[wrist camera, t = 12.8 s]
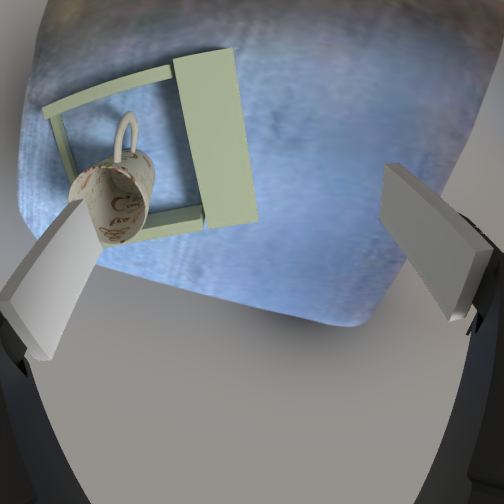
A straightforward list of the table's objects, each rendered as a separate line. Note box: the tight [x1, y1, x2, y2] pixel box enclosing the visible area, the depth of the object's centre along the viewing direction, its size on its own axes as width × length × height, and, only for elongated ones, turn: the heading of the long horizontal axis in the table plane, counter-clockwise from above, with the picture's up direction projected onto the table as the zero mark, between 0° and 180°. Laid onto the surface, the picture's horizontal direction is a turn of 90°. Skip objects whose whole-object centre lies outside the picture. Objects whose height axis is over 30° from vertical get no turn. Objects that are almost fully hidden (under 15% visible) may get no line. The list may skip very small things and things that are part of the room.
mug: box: [68, 111, 155, 245], centre depth 31 cm, size 8×13×10 cm, turn 168°
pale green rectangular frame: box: [42, 48, 259, 248], centre depth 33 cm, size 20×22×4 cm
